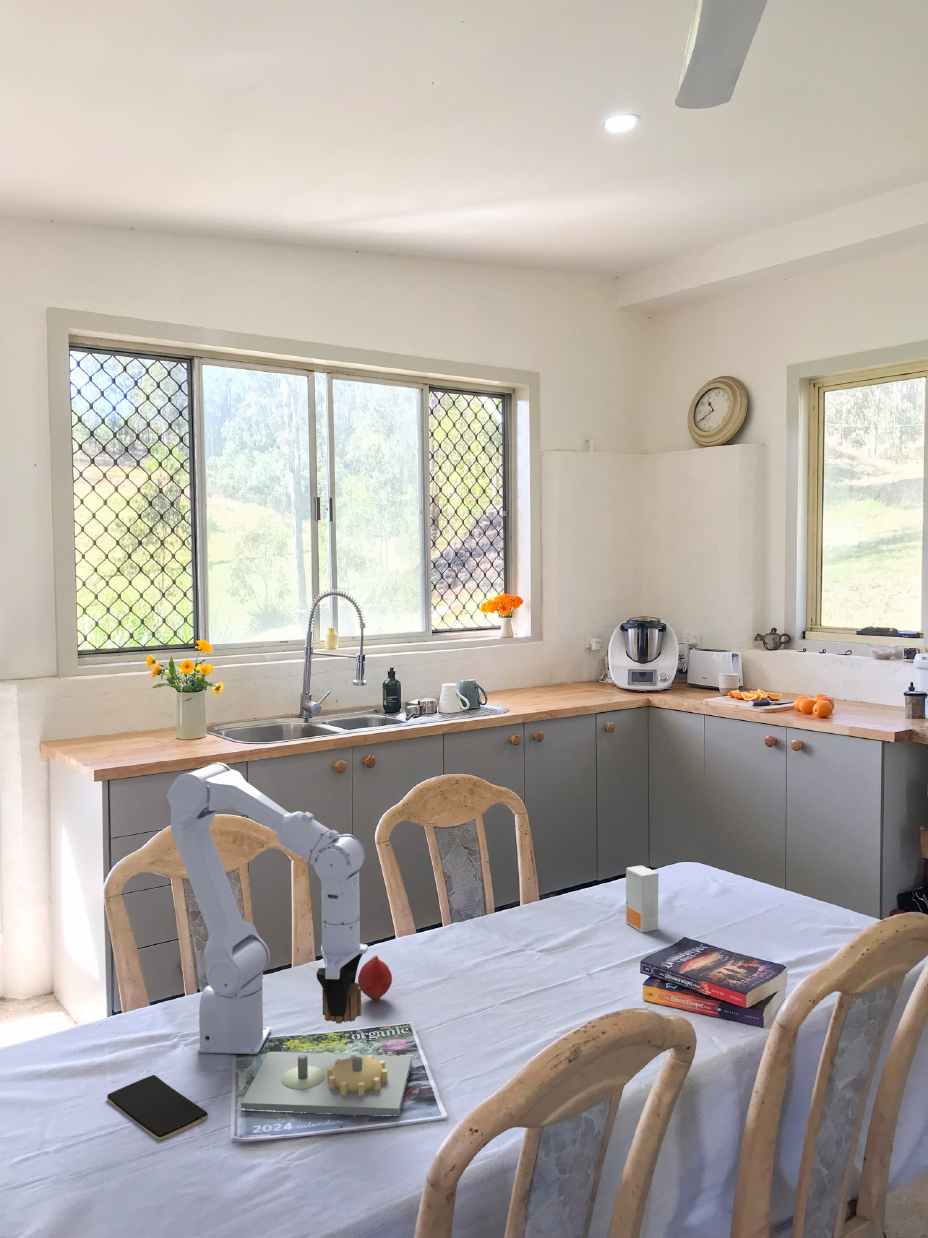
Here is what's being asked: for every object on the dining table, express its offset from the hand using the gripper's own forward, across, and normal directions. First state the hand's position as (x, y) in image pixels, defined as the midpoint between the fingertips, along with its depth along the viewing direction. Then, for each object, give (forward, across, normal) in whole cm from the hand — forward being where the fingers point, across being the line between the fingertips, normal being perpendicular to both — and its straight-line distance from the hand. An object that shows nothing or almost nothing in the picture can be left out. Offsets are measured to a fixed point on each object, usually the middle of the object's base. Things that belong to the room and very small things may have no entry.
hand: (341, 1005), depth 147 cm
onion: (+9, +20, -2) cm, 22 cm away
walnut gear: (+1, 0, 0) cm, 1 cm away
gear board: (+8, -8, 0) cm, 12 cm away
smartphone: (+9, -14, +23) cm, 29 cm away
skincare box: (+8, +56, -53) cm, 78 cm away
